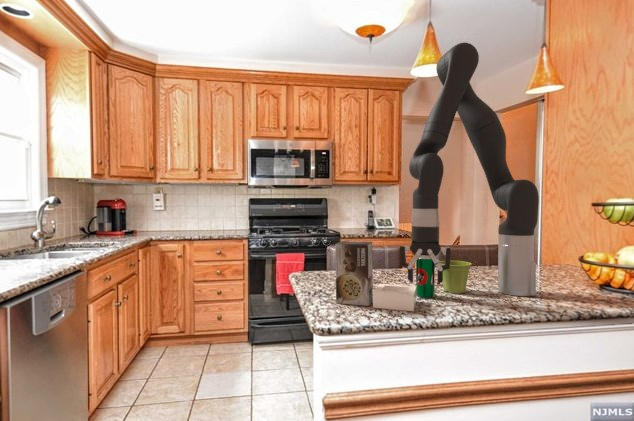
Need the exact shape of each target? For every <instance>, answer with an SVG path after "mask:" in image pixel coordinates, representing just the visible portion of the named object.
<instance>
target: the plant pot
mask: <svg viewBox="0 0 634 421" xmlns="http://www.w3.org/2000/svg"><path fill="white" fill-rule="evenodd" d="M439 262H440V263H441V265H445V260H439ZM471 266H472V263H471V262H470V261H469V262H468V261H463V260H462V261H461V260H450V268H449V269H446V270H444V271H443V281H442V287H443V291H444V292H449V293H450V294H456V295H457V294H461V293H463V294H464V293H466V291H467V284H468V283H467V282H468V277H469V276H468V275H469V271H470V269H471Z"/></svg>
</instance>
